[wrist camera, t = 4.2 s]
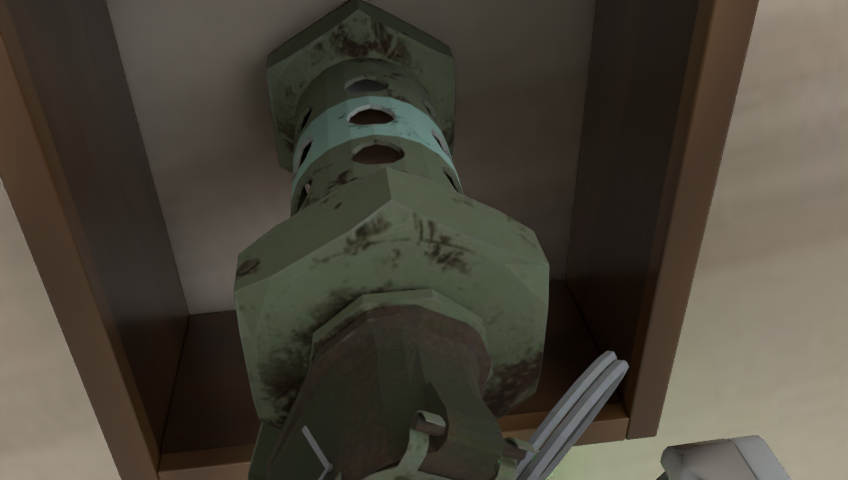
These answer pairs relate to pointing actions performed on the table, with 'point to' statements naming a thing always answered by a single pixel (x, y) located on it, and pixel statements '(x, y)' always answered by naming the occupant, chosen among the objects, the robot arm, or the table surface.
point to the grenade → (392, 280)
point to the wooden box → (219, 332)
